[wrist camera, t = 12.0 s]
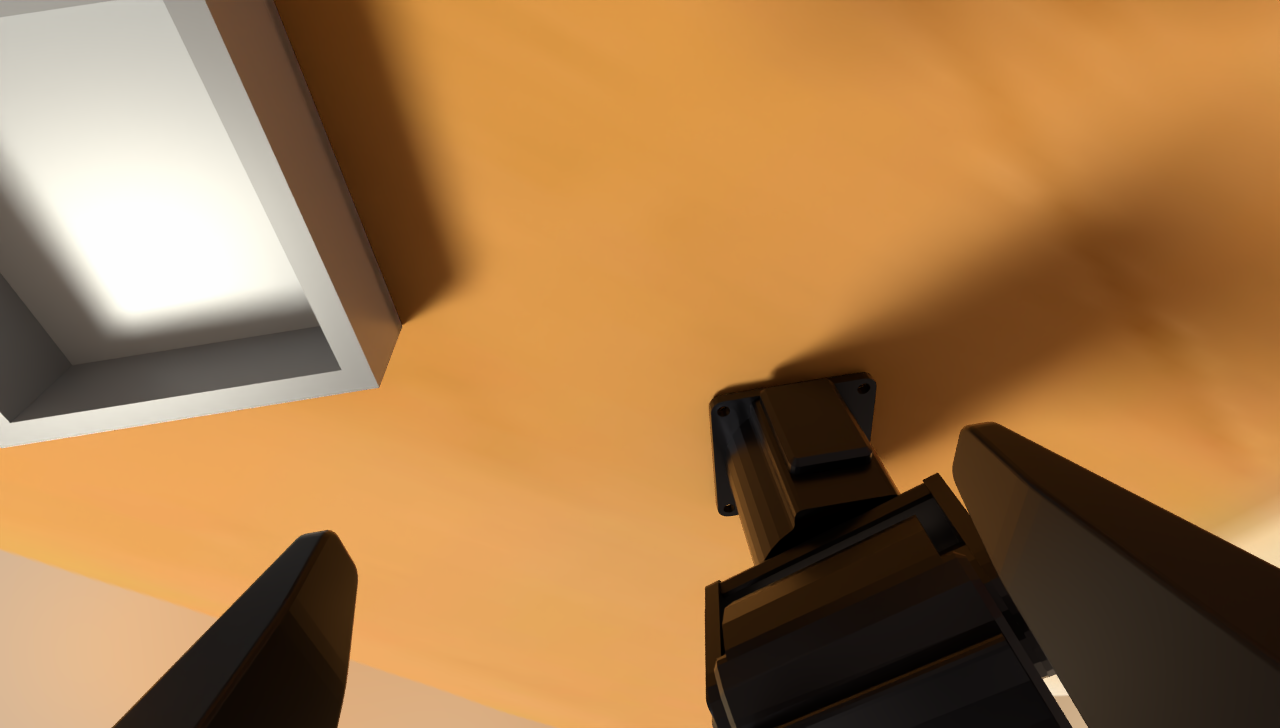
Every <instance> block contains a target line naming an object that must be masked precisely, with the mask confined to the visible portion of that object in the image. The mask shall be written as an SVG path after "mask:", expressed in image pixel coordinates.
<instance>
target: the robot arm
mask: <svg viewBox="0 0 1280 728" xmlns="http://www.w3.org/2000/svg"><path fill="white" fill-rule="evenodd" d="M864 383H865V385H864V386H863V387H860V388H858V387H859V386H860V385H862V384H864ZM876 387H877V386H876V382H875V381H874V379H873V378H872V376H871V375H870V374H868V373H866V372H860V373H854V374H848V375H842V376H836V377H830V378H823V379H817V380H811V381H805V382H799V383H793V384H786V385H780V386H774V387H768V388H762V389H756V390H749V391H743V392H737V393H731V394H725V395H720V396H717V397H715V398H714V399H712V400H711V402H710V403H709V416H710V429H711V443H712V456H713V469H714V483H715V496H716V505H717V509H718V512H719V514H721V515H722V516H734V515H739V517H740V520H741V523H742V527H743V530H744V533H745V536H746V540H747V543H748V546H749V550H750V553H751V556H752V559H753V563H754V566H753V567H751V568H749V569H747V570H745V571H743V572H741V573H739V574H737V575H735V576H733V577H731V578H729V579H727V580H725V581H723V582H721V581H720V580H718V581H716V582H714V583H712V584H710V585H708V586H706V587H705V660H706V702H707V706H708V708H709V710H710V712H711V714H712V725H713V728H1072V726H1071V725H1070V723H1069V721H1068V720H1067V718H1066V717H1065V715H1064V713H1063V712H1062V710H1061V708H1060V707H1059V705H1058V704H1057V702H1056V700H1055V699H1054V697H1053V695H1052V694H1051V692H1050V690H1049V689H1048V687H1047V686H1046V684H1045V682H1044V681H1043V679H1044V678H1046V677H1050V676H1053V675H1055V674H1057V676H1058V678H1059V679H1060V681H1061V683H1062V684H1063V686H1064V688H1065V689H1066V691H1067V693H1068V694H1069V696H1070V698H1071V699H1072V701H1073V703H1074V704H1075V706H1076V708H1077V709H1078V711H1079V713H1080V714H1081V716H1082V718H1083V720H1084V721H1085V723H1086V724H1087V726H1088V728H1280V568H1278V567H1276V566H1274V565H1272V564H1270V563H1268V562H1266V561H1264V560H1262V559H1260V558H1258V557H1256V556H1254V555H1252V554H1250V553H1249V552H1247V551H1245V550H1243V549H1241V548H1239V547H1237V546H1235V545H1233V544H1231V543H1229V542H1227V541H1225V540H1223V539H1221V538H1219V537H1217V536H1216V535H1214V534H1212V533H1210V532H1208V531H1206V530H1204V529H1202V528H1200V527H1198V526H1196V525H1194V524H1192V523H1190V522H1188V521H1186V520H1184V519H1182V518H1181V517H1179V516H1177V515H1175V514H1173V513H1171V512H1169V511H1167V510H1165V509H1163V508H1161V507H1159V506H1157V505H1155V504H1153V503H1151V502H1149V501H1147V500H1146V499H1144V498H1142V497H1140V496H1138V495H1136V494H1134V493H1132V492H1130V491H1128V490H1126V489H1124V488H1122V487H1120V486H1118V485H1116V484H1114V483H1113V482H1111V481H1109V480H1107V479H1105V478H1103V477H1101V476H1099V475H1097V474H1095V473H1093V472H1091V471H1089V470H1087V469H1085V468H1083V467H1081V466H1079V465H1078V464H1076V463H1074V462H1072V461H1070V460H1068V459H1066V458H1064V457H1062V456H1060V455H1058V454H1056V453H1054V452H1052V451H1050V450H1048V449H1046V448H1044V447H1043V446H1041V445H1039V444H1037V443H1035V442H1033V441H1031V440H1029V439H1027V438H1025V437H1023V436H1021V435H1019V434H1017V433H1015V432H1013V431H1011V430H1010V429H1008V428H1006V427H1004V426H1002V425H1000V424H997V423H995V422H984V423H978V424H972V425H967V426H965V427H964V428H963V429H962V430H961V432H960V435H959V439H958V444H957V448H956V453H955V457H954V461H953V467H952V472H953V478H954V481H955V484H956V486H957V488H958V490H959V493H960V495H961V497H962V499H963V501H964V503H965V506H966V508H967V510H968V512H969V513H968V512H967V511H966V509H965V508H964V507H963V505H962V504H961V503H960V501H959V500H958V499H957V497H956V496H955V495H954V493H953V492H952V491H951V489H950V488H949V487H948V485H947V484H946V483H945V481H944V480H943V479H942V477H941V476H940V475H939V473H936V474H934V475H932V476H930V477H928V478H926V479H924V480H923V482H924V483H922V484H920V485H918V486H916V487H914V488H912V489H910V490H908V491H906V492H904V493H902V494H900V492H899V490H898V489H897V487H896V485H895V484H894V482H893V480H892V479H891V477H890V475H889V474H888V472H887V470H886V469H885V467H884V465H883V464H882V462H881V460H880V459H879V457H878V455H877V454H876V452H875V450H874V449H873V447H872V445H871V443H870V438H871V429H872V421H873V412H874V404H875V396H876ZM723 406H726V407H727V408H726V409H724V410H718V409H719V408H720V407H723ZM729 504H731V505H729ZM726 505H728V506H726ZM969 514H970V515H969ZM357 585H358V574H357V569H356V566H355V564H354V562H353V560H352V559H351V557H350V555H349V554H348V552H347V550H346V549H345V547H344V545H343V544H342V542H341V540H340V539H339V537H338V536H337V534H336V533H335V532H333V531H331V530H325V531H319V532H313V533H307V534H304V535H301V536H300V537H299V538H297V539H296V540H295V541H294V542H293V543H292V544H291V545H290V546H289V547H288V548H287V549H286V550H285V551H284V552H283V553H282V554H281V555H280V556H279V558H278V559H277V560H276V561H275V562H274V563H273V564H272V565H271V566H270V567H269V568H268V569H267V570H266V571H265V572H264V573H263V574H262V575H261V576H260V577H259V578H258V579H257V580H256V581H255V582H254V583H253V584H252V585H251V586H250V587H249V588H248V589H247V590H246V591H245V592H244V593H243V594H242V595H241V596H240V597H239V598H238V599H237V600H236V601H235V602H234V603H233V604H232V605H231V607H230V608H229V609H228V610H227V611H226V612H225V613H224V614H223V615H222V616H221V617H220V618H219V619H218V620H217V621H216V622H215V623H214V624H213V625H212V626H211V627H210V628H209V629H208V630H207V631H206V632H205V633H204V634H203V635H202V636H201V637H200V638H199V639H198V640H197V641H196V642H195V643H194V644H193V645H192V646H191V647H190V648H189V650H188V651H186V652H185V653H184V655H183V656H182V657H181V658H180V659H179V660H178V661H177V662H176V663H175V664H174V665H173V666H172V667H171V668H170V669H169V670H168V671H167V672H166V673H165V674H164V675H163V676H162V677H161V678H160V679H159V680H158V681H157V682H156V683H155V684H154V685H153V686H152V687H151V688H150V689H149V690H148V691H147V692H146V693H145V694H144V695H143V696H142V697H141V698H140V700H138V702H137V703H136V704H135V705H134V706H133V707H132V708H131V709H130V710H129V711H128V712H127V713H126V714H125V715H124V716H123V717H122V718H121V719H120V720H119V721H118V722H117V723H116V724H115V725H114V726H113V727H112V728H337V727H338V722H339V718H340V713H341V709H342V704H343V699H344V694H345V689H346V683H347V675H348V668H349V659H350V649H351V640H352V631H353V622H354V613H355V604H356V594H357Z"/></svg>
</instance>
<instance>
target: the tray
mask: <svg viewBox="0 0 1280 728" xmlns="http://www.w3.org/2000/svg"><path fill="white" fill-rule="evenodd" d="M401 328H402V324H401V321H400V319H399V316H398V314H397V311H396V309H395V306H394V304H393V301H392V299H391V296H390V294H389V291H388V288H387V286H386V283H385V281H384V278H383V276H382V273H381V271H380V268H379V266H378V263H377V261H376V258H375V256H374V253H373V251H372V248H371V246H370V243H369V240H368V238H367V235H366V233H365V230H364V228H363V225H362V223H361V220H360V218H359V215H358V213H357V210H356V208H355V205H354V203H353V200H352V197H351V195H350V192H349V190H348V187H347V185H346V182H345V180H344V177H343V175H342V172H341V170H340V167H339V165H338V162H337V160H336V157H335V155H334V152H333V149H332V147H331V144H330V142H329V139H328V137H327V134H326V132H325V129H324V127H323V124H322V122H321V119H320V117H319V114H318V112H317V109H316V107H315V104H314V101H313V99H312V96H311V94H310V91H309V89H308V86H307V84H306V81H305V79H304V76H303V74H302V71H301V69H300V66H299V64H298V61H297V59H296V56H295V53H294V51H293V48H292V46H291V43H290V41H289V38H288V36H287V33H286V31H285V28H284V26H283V23H282V21H281V18H280V16H279V13H278V10H277V8H276V5H275V3H274V0H0V447H1V448H6V447H12V446H18V445H24V444H30V443H37V442H43V441H49V440H55V439H62V438H68V437H74V436H80V435H87V434H93V433H99V432H105V431H112V430H118V429H124V428H130V427H136V426H143V425H149V424H155V423H161V422H168V421H174V420H180V419H186V418H193V417H199V416H205V415H211V414H217V413H224V412H230V411H236V410H242V409H249V408H255V407H261V406H267V405H274V404H280V403H286V402H292V401H298V400H305V399H311V398H317V397H323V396H330V395H336V394H342V393H348V392H355V391H361V390H367V389H373V388H379V387H380V384H381V381H382V379H383V376H384V373H385V371H386V368H387V365H388V363H389V360H390V357H391V355H392V352H393V349H394V347H395V344H396V341H397V339H398V336H399V333H400V331H401Z"/></svg>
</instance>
